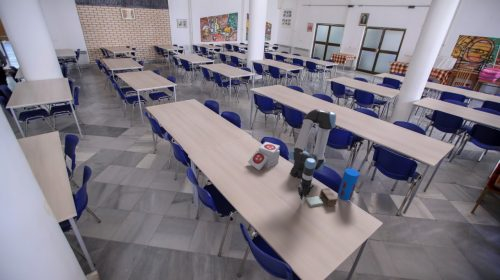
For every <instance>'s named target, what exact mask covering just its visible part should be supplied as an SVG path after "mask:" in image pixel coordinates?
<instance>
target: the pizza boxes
mask: <svg viewBox="0 0 500 280" xmlns="http://www.w3.org/2000/svg"><path fill="white" fill-rule="evenodd" d="M280 146H281V145H279V144H276V143H275V144H274V143H272V142H268V141H265V142H263V144H261V146H260V147H259V148H258V149H256V151H255V152H254V153H253V155H252V156H251V157H250V159H249V160H248V161H247V163H248V164H249V165H251V166H252V167H253V168H255V169H256V170H257V171H261V169H262V168H263V167H265V168H267V169H269V168H271V167H273V166H275V165H277V164H279V160H280V159H279V158H280V152H281V151H280V148H281V147H280Z"/></svg>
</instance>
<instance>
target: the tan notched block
mask: <svg viewBox="0 0 500 280" xmlns="http://www.w3.org/2000/svg"><path fill="white" fill-rule="evenodd" d="M319 196H322V197H326V198H327V202H326V203H327V204H326V206H327V207H328V206H329V207H335V205H336V206H337V202H338V196H336V195H335V194H334V192H333V191H332V190H331V189H330V188H329V187H326V188H325V187H324V188H321V190H320V193H319Z"/></svg>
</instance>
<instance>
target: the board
mask: <svg viewBox="0 0 500 280" xmlns="http://www.w3.org/2000/svg"><path fill="white" fill-rule="evenodd" d="M319 196H320V195H317V196H316V195H315V196H309V197H306V198H305V201H306V203H308V206H309V207H316V206H323V205H324V202H323V200H322V199H321V197H319Z"/></svg>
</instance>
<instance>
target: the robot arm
mask: <svg viewBox="0 0 500 280" xmlns="http://www.w3.org/2000/svg"><path fill="white" fill-rule="evenodd" d="M336 123H337V114H336V113H335V112H332V111H328V110H321V109H318V108H316V109H315V108H314V109H313V110H310V111H309V112H307V114H305V116H304V117H303V120H302V126H301V128H300V131H299V134H298V137H297V139H296V142H295V145H294V147H293V149H290V151H289V152H288V159H290V160H292V161H294V162H293V166H292V167H291V169H290V173H289V174H290V176H292V177H293V178H295V179H298V180H299V179H300V180H301V182H300V184H297V185H296V186H297V190H298V191H297V192H298V195H299V201H300V203H301V204H304V202H305V200H306V198H308V197H307V196H309V195H310V193H311V191H312V189H313V188H314V184H313V183H312V182H313V177H314V173H315V171H317V172H322V171H323V169H324V166H325V164H326V161H327V160H326V159H325V158H326V157H325V155H324V154H325V151H326V147H327V143H328V139H329V135H330V131H331V130H333V128H335V126H336ZM315 124H317V127H318V131H317V137H316V142H315V145H314V151H313V152H312V153H311V154H310V153H309V152H308V151H306V150H305V147H306V145H307V142H308V139H309V136H310V134H311V131H312V129H313V126H314V125H315Z"/></svg>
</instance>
